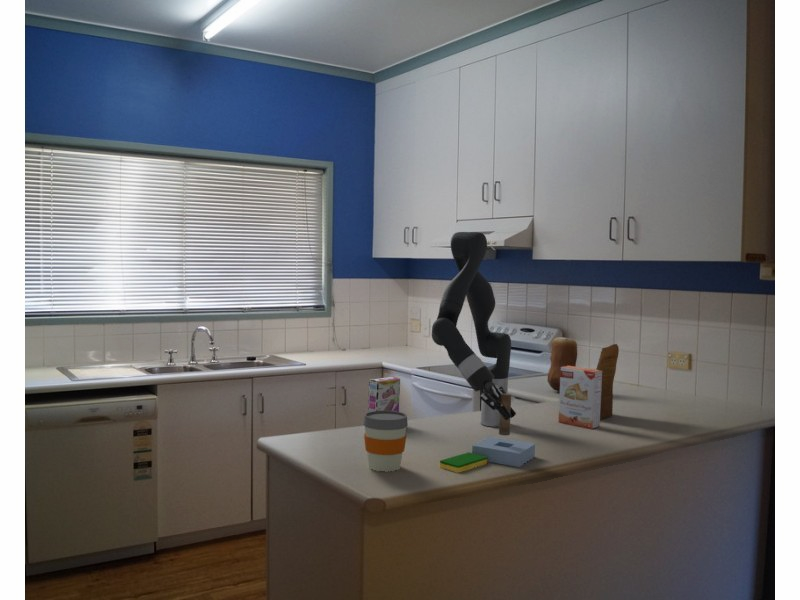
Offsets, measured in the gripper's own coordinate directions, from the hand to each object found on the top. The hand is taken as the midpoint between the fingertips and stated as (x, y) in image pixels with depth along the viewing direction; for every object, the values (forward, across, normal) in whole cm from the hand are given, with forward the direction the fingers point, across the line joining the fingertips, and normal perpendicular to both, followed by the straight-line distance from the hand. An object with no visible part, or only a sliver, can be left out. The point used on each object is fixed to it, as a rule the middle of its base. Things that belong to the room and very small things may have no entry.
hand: (511, 417), depth 218 cm
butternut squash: (-5, +116, +22) cm, 119 cm away
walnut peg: (+2, 0, +5) cm, 6 cm away
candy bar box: (-29, +15, +47) cm, 57 cm away
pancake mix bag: (+15, +75, +3) cm, 77 cm away
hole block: (+8, 0, +10) cm, 13 cm away
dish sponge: (+3, -14, +16) cm, 21 cm away
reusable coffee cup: (-9, -29, +28) cm, 41 cm away
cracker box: (+12, +57, +6) cm, 59 cm away
